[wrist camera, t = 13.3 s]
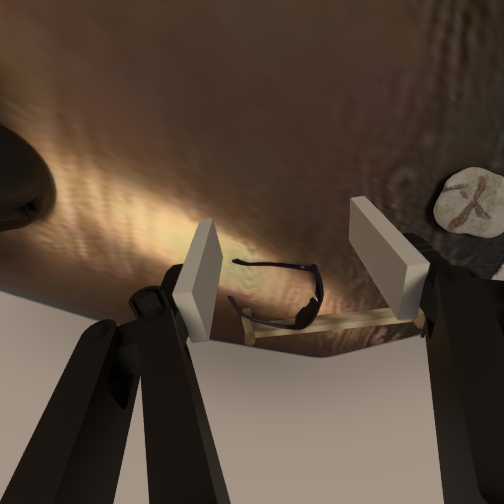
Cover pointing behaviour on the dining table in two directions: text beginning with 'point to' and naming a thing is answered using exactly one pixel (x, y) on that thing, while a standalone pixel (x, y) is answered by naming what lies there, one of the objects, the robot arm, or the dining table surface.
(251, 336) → the beige long bar
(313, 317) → the sunglasses
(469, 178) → the stone
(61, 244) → the dining table surface
